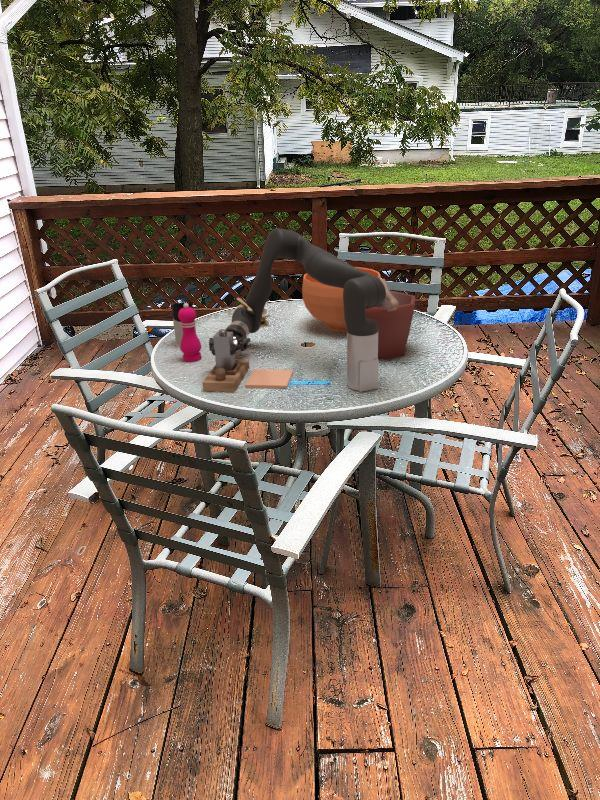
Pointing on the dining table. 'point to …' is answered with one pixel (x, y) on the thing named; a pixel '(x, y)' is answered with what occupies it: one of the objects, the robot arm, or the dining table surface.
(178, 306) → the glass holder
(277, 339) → the dining table surface
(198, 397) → the dining table surface
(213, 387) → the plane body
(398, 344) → the bucket
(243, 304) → the tableware set
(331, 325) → the bowl
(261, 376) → the coaster
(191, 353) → the pepper mill
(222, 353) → the grey square grinder
